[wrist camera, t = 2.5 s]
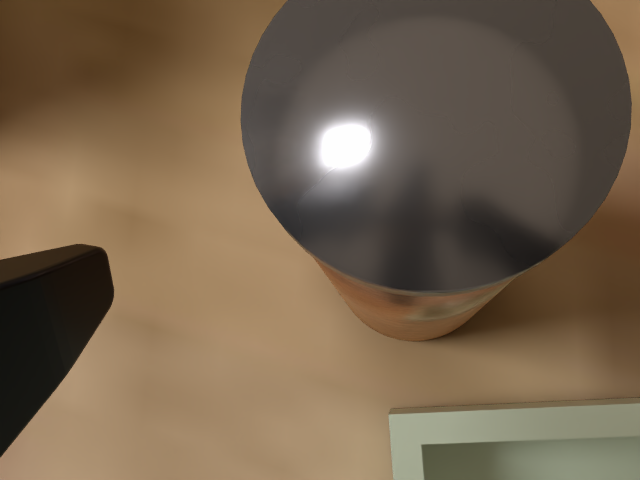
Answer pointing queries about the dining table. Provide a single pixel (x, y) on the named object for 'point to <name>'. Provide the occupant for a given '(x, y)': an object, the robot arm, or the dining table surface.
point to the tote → (518, 441)
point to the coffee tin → (433, 144)
